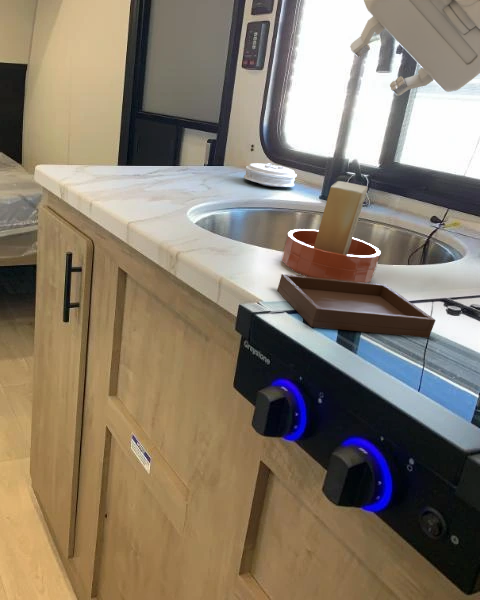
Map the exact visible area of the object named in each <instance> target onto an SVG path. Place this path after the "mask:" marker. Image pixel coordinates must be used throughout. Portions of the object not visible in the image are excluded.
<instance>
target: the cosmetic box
mask: <svg viewBox="0 0 480 600" xmlns="http://www.w3.org/2000/svg"><path fill="white" fill-rule="evenodd" d="M368 189H369V187H368V186H366V185H362V184H356V183H351V182H346V181H341V180H337V181H335V182H334V183H333V184H332V185H331V186H330V189H329V191H328V196H327V199H326V203H325V206H324V210H323V214H322V217H321V220H320V224H319V228H318V230H319V231H318V234H317V238H316V242H315V245H314V247H315V248H318V249H322V250H326V251H330V252H335V253H340V254H346V255H347V254H348V251H349V248H350V244H351V241H352V238H354V234H355V231H356V228H357V225H358V221H359V219H360V215H361V212H362V209H363V205H364V202H365V198H366V195H367V193H368Z"/></svg>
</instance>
